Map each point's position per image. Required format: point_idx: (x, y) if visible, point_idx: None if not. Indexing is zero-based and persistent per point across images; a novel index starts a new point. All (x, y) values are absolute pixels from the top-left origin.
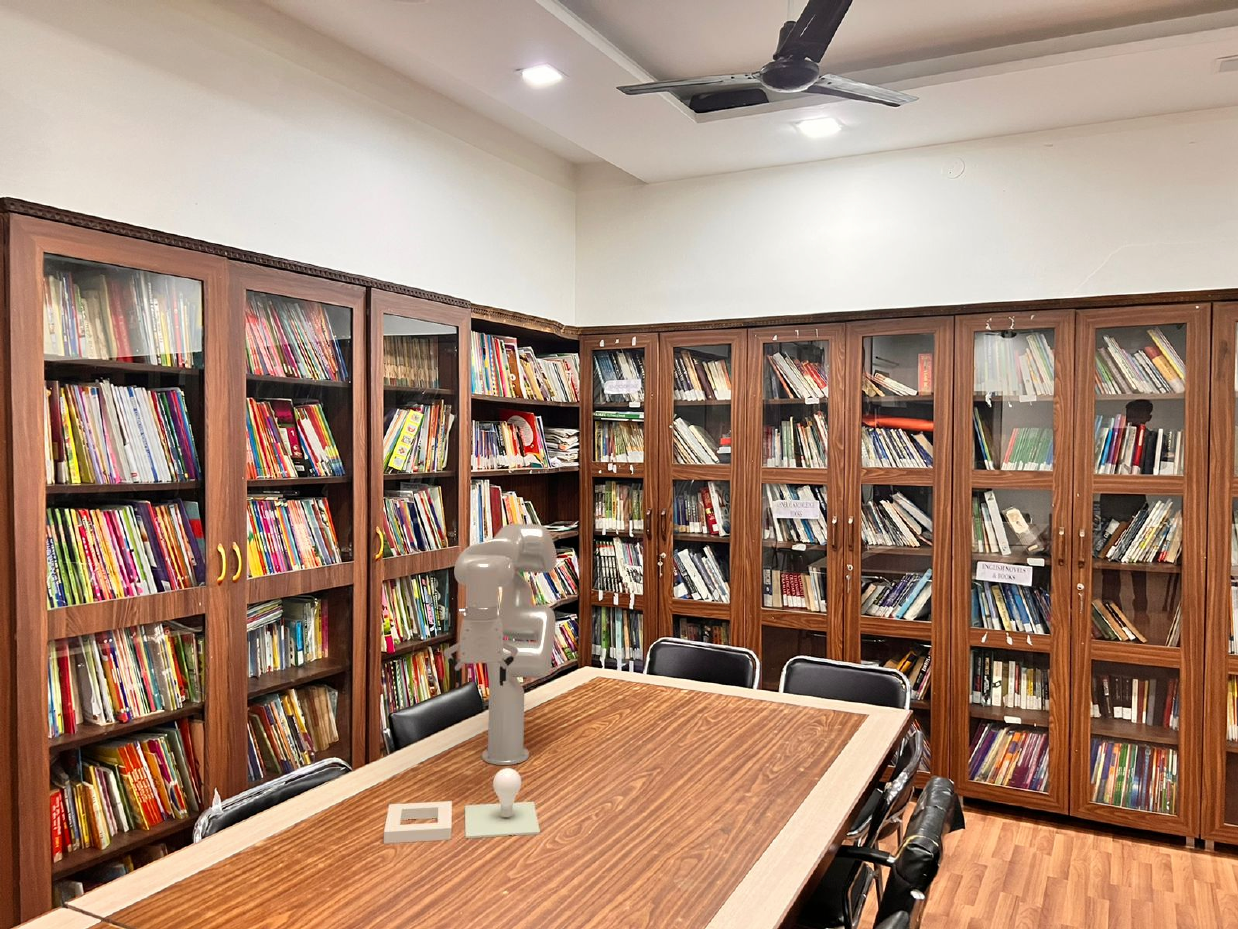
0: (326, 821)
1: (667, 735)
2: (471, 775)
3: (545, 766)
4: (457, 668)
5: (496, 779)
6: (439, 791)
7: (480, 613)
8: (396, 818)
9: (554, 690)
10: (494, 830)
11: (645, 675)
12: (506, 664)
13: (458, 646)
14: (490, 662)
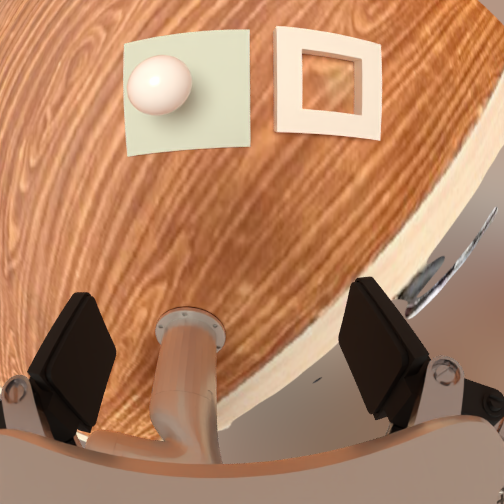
0: (437, 143)
1: (30, 354)
2: (239, 277)
3: (127, 299)
4: (441, 371)
5: (182, 66)
6: (293, 219)
7: None
8: (368, 82)
9: None
10: (198, 44)
11: None
12: (3, 401)
13: None
14: (81, 451)
